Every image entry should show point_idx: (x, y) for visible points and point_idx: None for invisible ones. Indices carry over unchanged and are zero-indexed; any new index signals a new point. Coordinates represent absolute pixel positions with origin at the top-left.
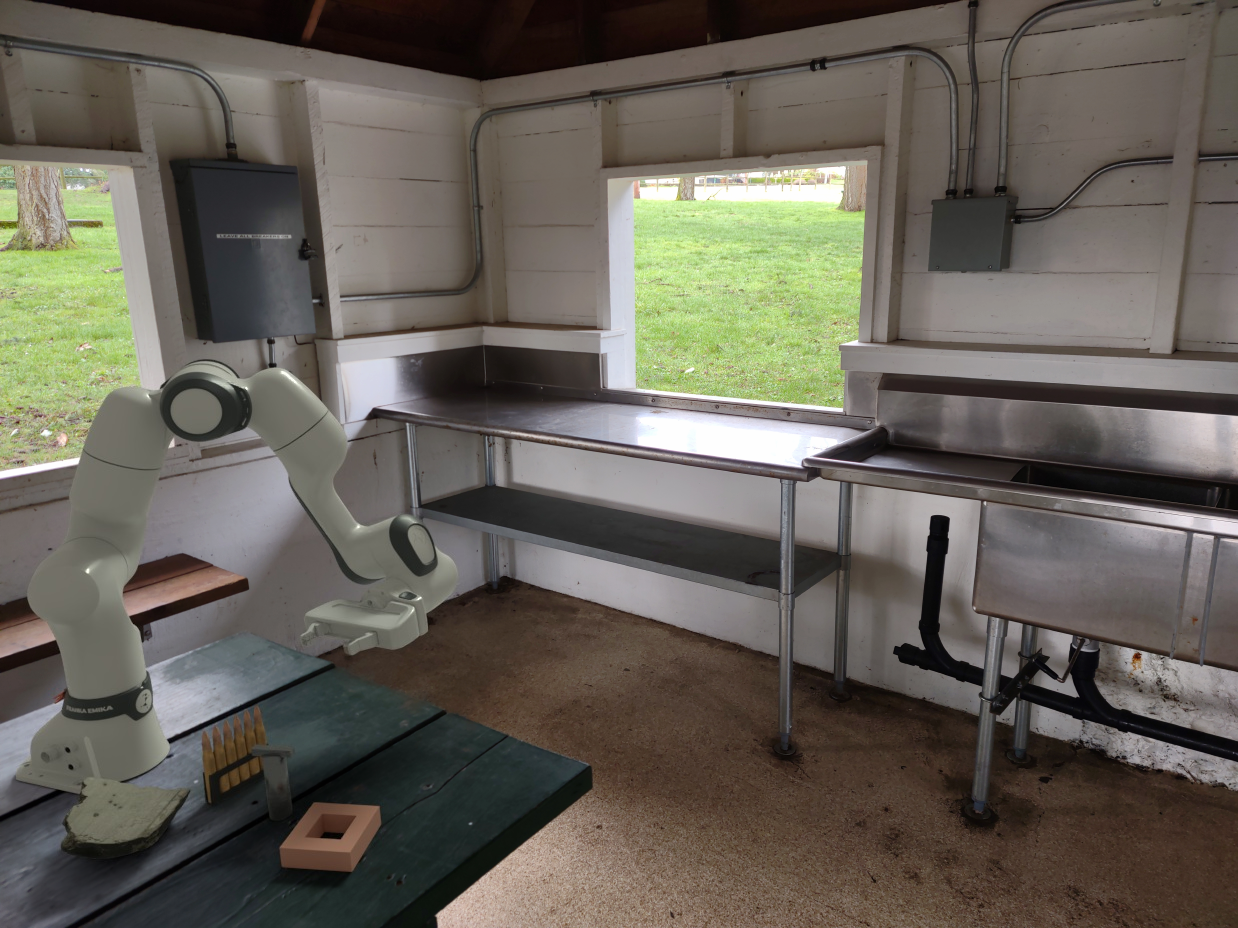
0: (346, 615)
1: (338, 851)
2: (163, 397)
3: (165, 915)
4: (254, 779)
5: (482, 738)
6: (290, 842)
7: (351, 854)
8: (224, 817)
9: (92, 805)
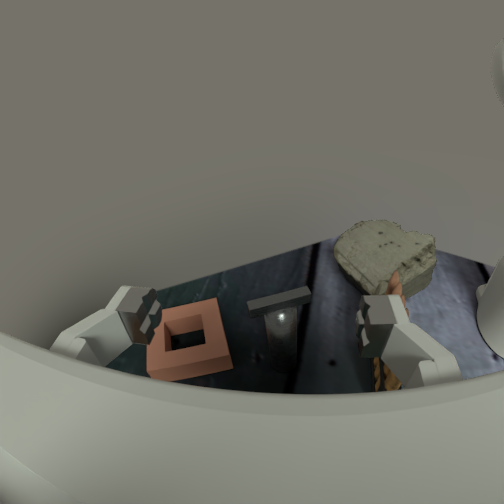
0: (298, 473)
1: None
2: None
3: (269, 258)
4: (372, 384)
5: None
6: (210, 305)
7: None
8: (338, 333)
9: (393, 233)
